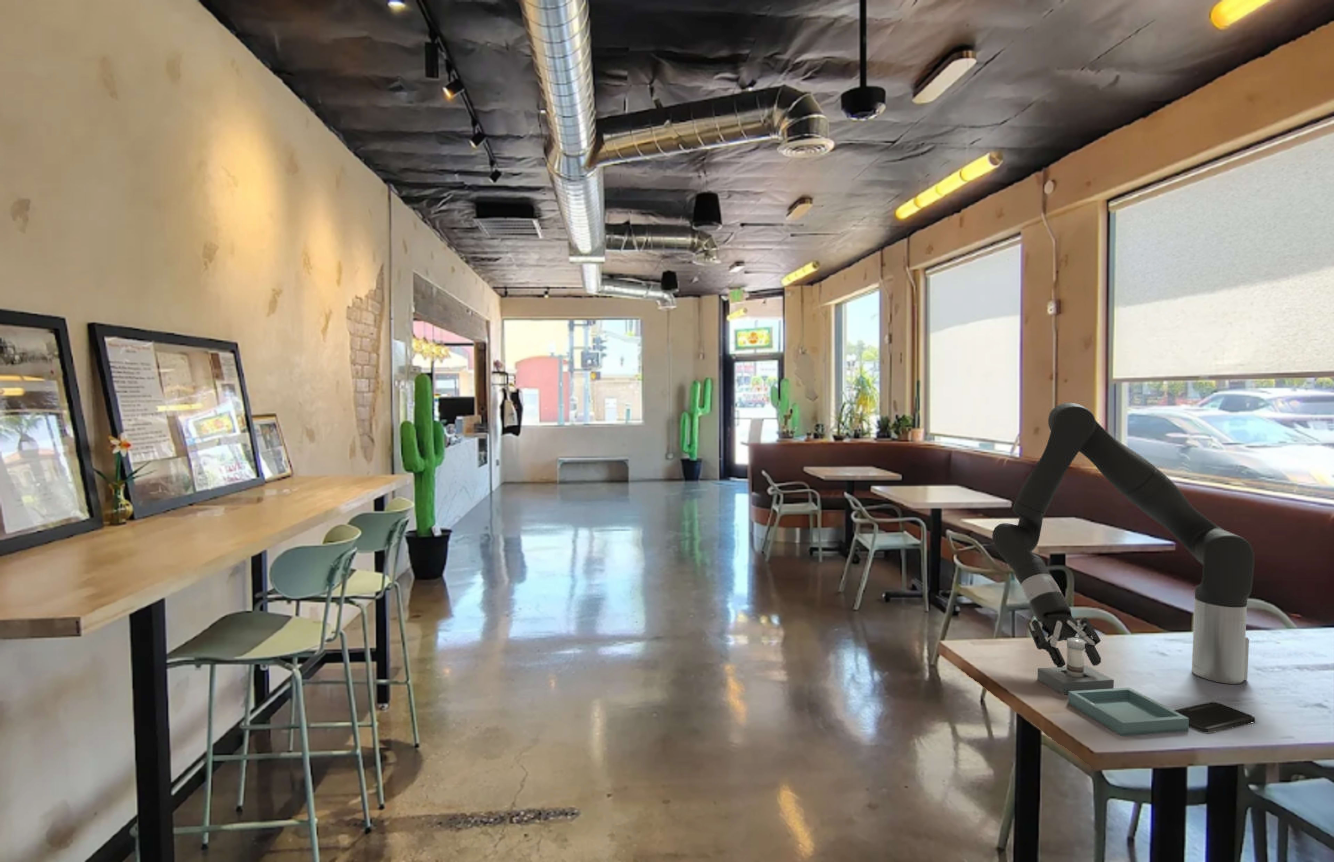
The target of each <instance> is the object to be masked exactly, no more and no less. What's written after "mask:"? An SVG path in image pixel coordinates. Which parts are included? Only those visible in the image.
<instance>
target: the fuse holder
mask: <svg viewBox="0 0 1334 862" xmlns="http://www.w3.org/2000/svg"><path fill="white" fill-rule="evenodd" d="M1037 680H1038V681H1039V682H1041V683H1043V684H1045V685H1046V686H1047V687H1050V688H1051V689H1053V690H1055V691H1057V692H1058V693H1060V694H1062V695H1068V692H1069V691H1081V690H1097V689H1113V688H1114V682H1115V681H1114V678H1111V677H1109V676H1107V675H1105V674H1103V673H1101V672H1099V671H1098V670H1096V669H1093V668H1091V667H1090V666H1088V665H1084V674H1083V678H1072V677H1070V676H1068V675H1067V666H1063V667H1061V668H1058V667H1057V666H1054V667H1053V666H1052V667H1038V668H1037Z"/></svg>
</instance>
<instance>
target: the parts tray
mask: <svg viewBox="0 0 1334 862" xmlns="http://www.w3.org/2000/svg"><path fill="white" fill-rule="evenodd" d="M1067 695H1068V698H1067V699H1068V700H1067V703H1068V704H1069V705H1071V706H1072V707H1074V708H1076V710H1079V711H1080V712H1082V713H1083V714H1085V715H1087V716H1088V717H1091V718H1092V719H1093V720H1095V721H1097V722H1099V723H1100V724H1102V725H1103V726H1105V727H1107V728H1108V729H1110V730H1112V731H1113V732H1115V733H1117V734H1118V735H1121V736H1122V737H1128V736H1142V735H1156V734H1157V735H1158V734H1167V733H1170V732H1171V733H1181V732H1183V733H1185V732H1189V728H1190V727H1189V718H1187V717H1185V716H1183V715H1181V714H1180V713H1178V712H1176V711H1174V710H1175V709H1171V708H1169V707H1168V706H1167V705H1164V704H1162V703H1160V702H1158V701H1156V700H1154V699H1152V698H1151V697H1149V696H1146V695H1144V694H1142V693H1141V692H1139V691H1137V690H1135V689H1132V688H1130V687H1115V688H1114V687H1113V689H1097V690H1081V691H1069V692H1068V694H1067Z"/></svg>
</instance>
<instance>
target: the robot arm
mask: <svg viewBox="0 0 1334 862" xmlns="http://www.w3.org/2000/svg"><path fill="white" fill-rule="evenodd" d="M1047 419H1048V421H1047V422H1048V423H1047V424H1048V427H1049V428H1048V429H1049V430H1050V434H1049V437H1048V441H1047V443H1046V446H1045V449H1044V451H1043V452H1042V455H1041V457H1040V458H1039V460H1038V462H1037V463H1036V465H1035V467H1034V468H1033V469H1032V471H1031V472H1030V474H1028V477H1027V478H1026V480H1025V481H1024V483H1023V485H1022V487H1021V488H1020V491H1019V492H1018V495H1017V496H1016V499H1015V501H1014V504H1013V506H1012V512H1013V513H1014V514H1015V515H1016V516H1018V517H1019V519H1018V523H1017V524H1012V523H1010V522H1009V523H1008V522H1007V523H1005V522H1004V523H1003V522H1002V523H999V524H998V525H996V526H995V527H994V529H993V530H992V534H991V535H992V544H993V545H994V548H995V549H996V551H997V553H999V555H1000V557H1001V558H1002V559H1003V560H1004V562H1005V563H1006V564H1007V565H1008V566H1009V568H1011V569H1012V570H1013V572H1014V574H1015V576H1016V579H1017V581H1018V582H1019V584H1020V586H1021V589H1022V592H1023V596H1024V597H1025V599H1026V601H1027V603H1028V605H1029V607H1030V609H1031V611H1032V613H1033V615H1034V616H1035V619H1033V620H1032V621H1031V622H1030V623H1029V624H1027V627H1028V628H1027V629H1028V630H1029V632H1030V635H1031V637H1032V639H1033V642H1034V645H1035V647H1036V648H1037V650H1045V651H1046V652H1047V653H1048V654H1049V657H1050V659H1051V661H1052V663H1053V664H1054V665H1055V666H1056V667H1058V668H1061V667H1065V665H1066V661H1065V659H1064V656H1063V655H1062V653H1061V651H1060V649H1059V647H1057V643H1058V642H1062V641H1066V642H1067V638H1078V639H1082V640H1084V641H1085V649H1084V653H1086V656H1087V658H1088V660H1089V662H1090V663H1091V665H1092V666H1094V667H1096V666H1099V665H1100V664H1101V662H1102V658H1101V655H1100V654H1099V652H1098V650H1097V648H1096V646H1097V645H1099V643H1100V642H1101V638H1100V637H1099V635H1098V634H1097V631H1096V630H1095V629H1094V627H1093V625H1092V623H1091V621H1090V620H1089V619H1088V618H1087V617H1083V618H1081V619H1077V620H1076V619H1075V618H1074V617H1073V616H1072V609H1071V607H1070V606H1069V603H1068V601H1067V600H1066V598H1065V596H1064V594H1063V593H1062V591H1061V589H1060V586H1059V585H1058V584H1057V582H1056V581H1055V579H1054V577H1053V576H1052V575H1051V573H1050V571H1049V569H1048V568H1047V565H1046V563H1045V562H1044V560H1043V558H1041V557H1040V556H1039V555H1036V554H1035V553H1032V552H1033V551H1034V550H1035V548H1036V547H1037V546H1038V544H1039V540H1040V537H1041V532H1042V526H1043V520H1044V516H1045V514H1046V512H1047V510H1048V509H1049V506H1050V504H1051V503H1052V500H1053V498H1054V496H1055V494H1056V492H1057V490H1058V488H1059V486H1060V484H1061V482H1062V480H1063V477H1064V476H1065V475H1066V473H1067V470H1068V469H1069V467H1070V465H1071V464H1072V462H1073V461H1074V460H1075V458H1076V456H1077V455H1078V454H1079V453H1081V455H1083V456H1084V457H1085V458H1087V459H1088V460H1089V461H1090V462H1091V463H1092V464H1093V465H1094V466H1095V468H1096V469H1097V470H1098V471H1099V472H1100V473H1101V474H1102V476H1103V477H1104V478H1105V479H1106V480H1107V481H1108V482H1109V483H1110V484H1111V485H1112V486H1113V487H1114V488H1115V490H1116V491H1118V492H1119V493H1121V494H1122V495H1123V496H1124V498H1126V499H1127V500H1128V501H1129V502H1131V504H1132V505H1134V506H1135V507H1137V508H1138V509H1140V510H1141V511H1142V512H1143V513H1144V514H1146V515H1147V516H1149V517H1150V518H1151V519H1152V520H1153V521H1155V522H1157V523H1158V524H1160V525H1162V526H1163V527H1164V528H1165V529H1166V530H1168V531H1169V532H1170V534H1172V535H1173V536H1174V537H1175V538H1176V539H1177V540H1178V541H1179V542H1180V544H1182V545H1183V546H1184V547H1185V549H1186V550H1187V551H1188V552H1189V553H1190V554H1191V555H1192V556H1193V557H1194V558H1195V559H1196V560H1197V562H1199V563H1200V564H1202V578H1201V582H1200V583H1199V584H1197V585H1196V586H1195V589H1194V610H1193V611H1194V612H1193V614H1194V615H1193V633H1192V635H1193V636H1192V637H1193V638H1192V655H1191V657H1192V659H1191V672H1192V673H1193V674H1194V675H1196V676H1198V677H1199V678H1202V679H1206V680H1209V681H1212V682H1216V683H1223V684H1231V685H1232V684H1233V685H1235V684H1236V685H1237V684H1242V683H1243V682H1244V681H1247V680H1248V675H1249V674H1248V672H1249V650H1250V648H1249V647H1250V639H1249V637H1247V636H1246V633H1247V632H1246V631H1247V612H1248V611H1247V610H1248V607H1247V606H1248V598H1249V597H1250V596H1251V593H1252V589H1253V581H1254V571H1255V570H1254V569H1255V552H1254V549H1253V547H1252V545H1251V543H1250V542H1249V541H1247V540H1246V539H1245V538H1244V537H1242V536H1240V535H1237V534H1235V533H1232V532H1230V531H1228V530H1225V529H1223V528H1222V527H1220V526H1218V525H1217V524H1216V523H1214V522H1212V521H1211V520H1209V518H1207V517H1206V516H1205V515H1203V514H1202V513H1200V512H1199V511H1198V510H1197V509H1196V508H1195V507H1193V505H1192V504H1191V503H1190V502H1189V500H1188V499H1187V498H1186V497H1185V495H1184V494H1183V492H1182V490H1180V488H1179V487H1178V486H1177V485H1176V484H1175V483H1174V482H1173V481H1172V480H1171V479H1170V478H1169V477H1167V475H1166V474H1165V473H1163V472H1162V471H1161V470H1160V469H1158V468H1157V467H1156V466H1155V465H1154V464H1152V463H1151V462H1150V461H1149V460H1147V459H1146V458H1144V457H1143V456H1142V455H1140V454H1139V453H1137V452H1136V451H1134V450H1133V449H1131V448H1130V447H1128V446H1126V445H1125V444H1123V443H1122V442H1120V441H1119V440H1117V439H1116V438H1115V437H1113V436H1112V435H1111V434H1110V433H1109V432H1108V431H1107V430H1106V429H1105V428H1104V427H1103V426H1102V425H1101V424H1100V423H1099V422H1098V421H1097V420H1096V417H1095V415H1094V414H1093V412H1092V411H1091V410H1090V409H1089V408H1086V407H1085V406H1084V405H1081V404H1079V403H1077V402H1064V403H1060V404H1058V405H1057V406H1055V407H1054V408H1052V409H1051V411H1050V413H1049V416H1048V418H1047ZM1044 632H1045V633H1046V637H1045V634H1044ZM1076 635H1077V636H1076Z"/></svg>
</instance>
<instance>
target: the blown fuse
mask: <svg viewBox="0 0 1334 862" xmlns="http://www.w3.org/2000/svg"><path fill="white" fill-rule="evenodd" d="M1085 643H1086V642H1085V641H1084V640H1082V639H1078V638H1067V641H1066V650H1067V651H1066V667H1067V675H1068V676H1070V677H1072V678H1083V674H1084V666H1085V650H1086V649H1085Z"/></svg>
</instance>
